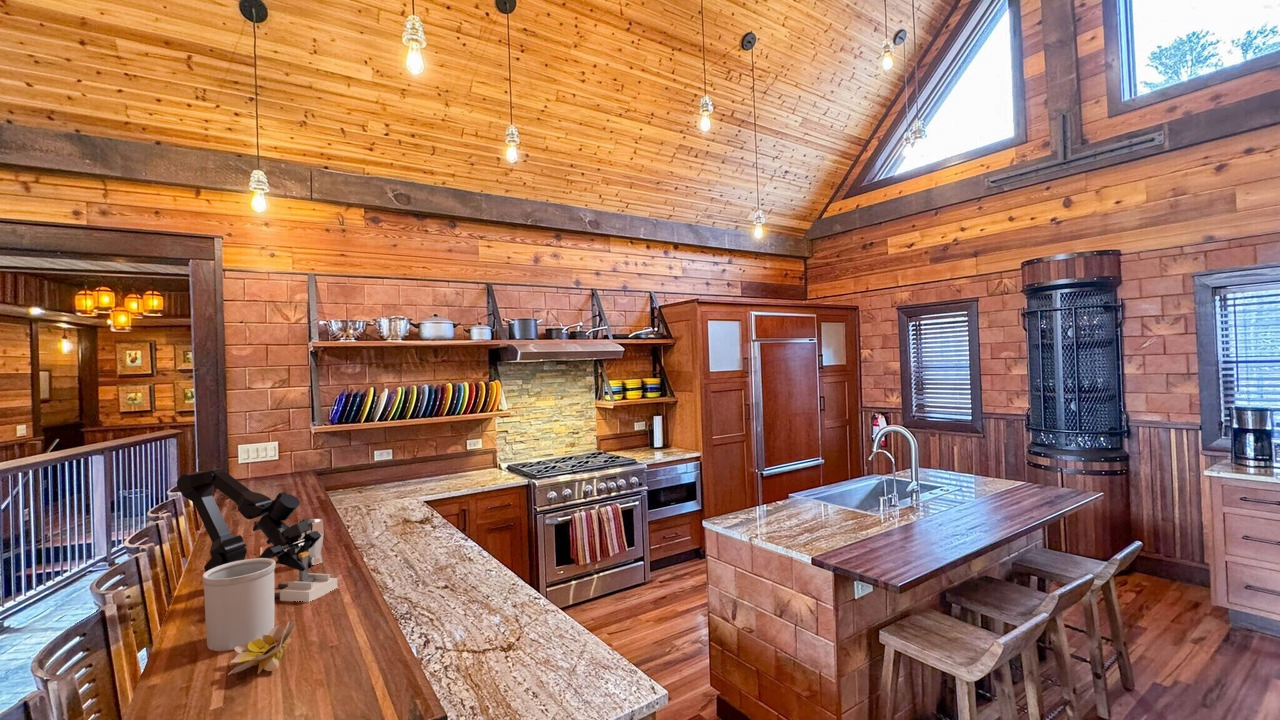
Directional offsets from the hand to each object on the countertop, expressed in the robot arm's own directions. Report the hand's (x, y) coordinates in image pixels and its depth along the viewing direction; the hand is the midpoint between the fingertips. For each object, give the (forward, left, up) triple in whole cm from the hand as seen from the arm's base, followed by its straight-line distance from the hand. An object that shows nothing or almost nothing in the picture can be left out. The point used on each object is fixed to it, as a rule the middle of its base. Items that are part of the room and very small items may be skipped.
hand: (307, 568), depth 166 cm
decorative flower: (-30, -32, -8) cm, 44 cm away
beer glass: (+18, +26, -8) cm, 33 cm away
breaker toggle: (0, +1, -4) cm, 4 cm away
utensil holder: (-25, -13, -8) cm, 29 cm away
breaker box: (-1, +4, -8) cm, 9 cm away
